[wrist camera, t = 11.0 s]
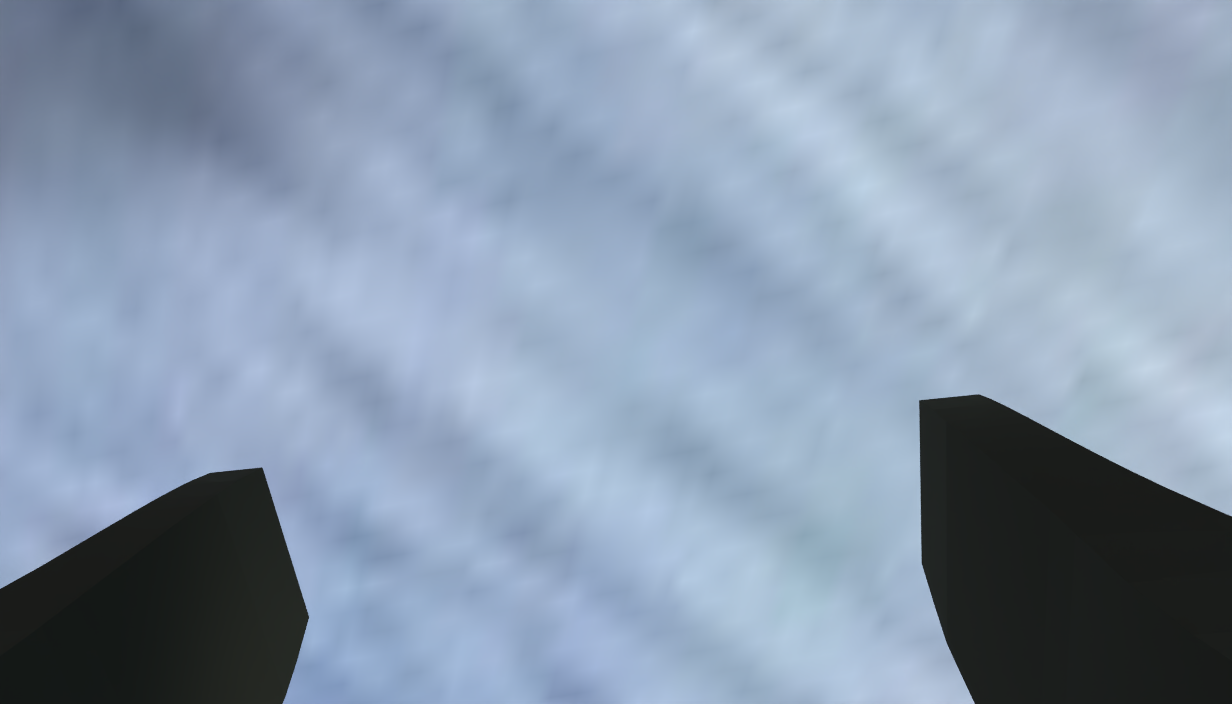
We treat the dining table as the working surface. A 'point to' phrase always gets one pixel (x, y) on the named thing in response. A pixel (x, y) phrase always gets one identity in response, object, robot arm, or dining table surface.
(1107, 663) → the robot arm
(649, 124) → the dining table surface
